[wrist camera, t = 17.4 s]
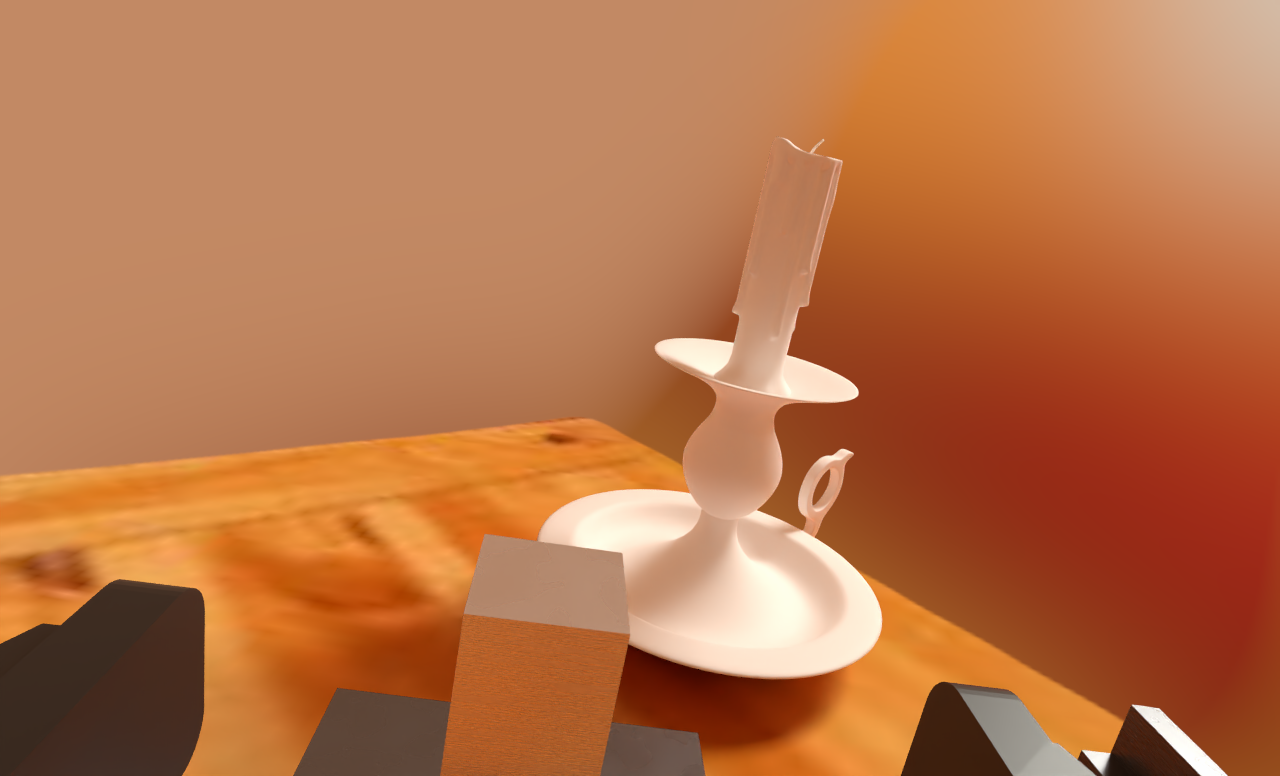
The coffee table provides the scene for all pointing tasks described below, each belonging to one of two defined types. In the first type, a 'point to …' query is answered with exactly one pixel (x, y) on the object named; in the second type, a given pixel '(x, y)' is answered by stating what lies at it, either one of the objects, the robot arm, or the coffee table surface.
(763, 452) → the candlestick
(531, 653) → the square bit
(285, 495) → the coffee table surface
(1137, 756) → the block
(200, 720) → the robot arm
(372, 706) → the bore plate
